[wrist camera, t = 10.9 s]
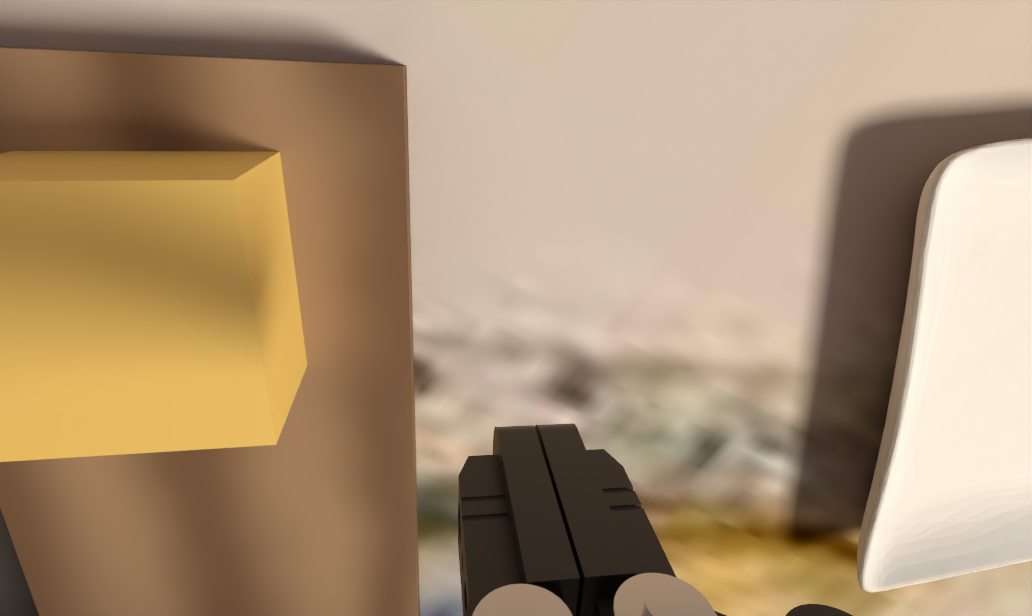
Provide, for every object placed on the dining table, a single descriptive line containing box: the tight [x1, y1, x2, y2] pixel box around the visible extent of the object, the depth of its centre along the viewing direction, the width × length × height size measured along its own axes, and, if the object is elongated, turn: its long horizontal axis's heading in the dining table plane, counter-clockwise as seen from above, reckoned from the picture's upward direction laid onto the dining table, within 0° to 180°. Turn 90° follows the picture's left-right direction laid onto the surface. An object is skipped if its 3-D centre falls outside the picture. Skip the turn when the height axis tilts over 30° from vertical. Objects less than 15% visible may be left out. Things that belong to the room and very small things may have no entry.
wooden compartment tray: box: [0, 47, 420, 616], centre depth 23 cm, size 26×36×3 cm
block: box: [0, 151, 307, 462], centre depth 16 cm, size 7×7×4 cm
